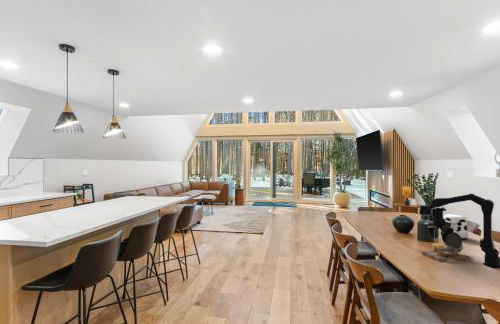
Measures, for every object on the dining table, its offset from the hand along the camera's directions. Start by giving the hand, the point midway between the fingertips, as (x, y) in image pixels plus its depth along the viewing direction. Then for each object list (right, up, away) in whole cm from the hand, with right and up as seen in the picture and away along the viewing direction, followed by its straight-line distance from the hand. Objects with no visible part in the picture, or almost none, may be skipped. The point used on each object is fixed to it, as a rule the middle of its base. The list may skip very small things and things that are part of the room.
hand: (438, 239), depth 177 cm
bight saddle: (0, -8, 0) cm, 8 cm away
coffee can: (+15, -6, +6) cm, 17 cm away
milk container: (+45, -11, +43) cm, 63 cm away
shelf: (0, -10, -4) cm, 11 cm away
